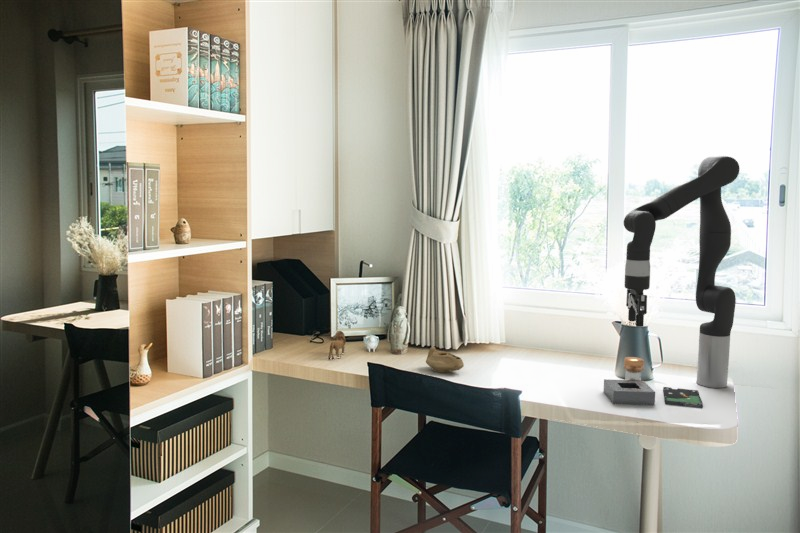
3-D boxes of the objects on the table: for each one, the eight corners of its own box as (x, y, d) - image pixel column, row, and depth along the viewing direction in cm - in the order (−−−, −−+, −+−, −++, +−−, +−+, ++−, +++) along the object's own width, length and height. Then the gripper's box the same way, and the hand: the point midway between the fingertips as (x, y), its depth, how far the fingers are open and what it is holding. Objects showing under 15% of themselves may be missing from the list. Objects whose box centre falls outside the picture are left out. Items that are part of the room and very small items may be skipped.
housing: (603, 394, 204) (604, 379, 203) (642, 395, 203) (643, 380, 202) (613, 407, 192) (613, 390, 191) (654, 408, 191) (655, 392, 190)
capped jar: (620, 386, 213) (622, 356, 212) (639, 386, 212) (640, 357, 211) (625, 391, 207) (627, 361, 206) (644, 392, 206) (646, 361, 205)
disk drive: (662, 395, 206) (664, 409, 192) (662, 386, 206) (665, 399, 192) (697, 398, 202) (703, 413, 189) (698, 389, 202) (703, 403, 188)
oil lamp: (458, 377, 222) (458, 355, 221) (419, 371, 229) (419, 349, 228) (470, 370, 231) (471, 348, 230) (433, 364, 238) (433, 343, 238)
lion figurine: (333, 351, 257) (333, 329, 256) (346, 352, 257) (346, 329, 256) (326, 361, 243) (326, 337, 242) (340, 361, 242) (340, 338, 241)
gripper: (656, 276, 198) (654, 328, 200) (642, 271, 212) (641, 319, 214) (631, 276, 199) (629, 328, 201) (619, 270, 213) (617, 319, 215)
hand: (635, 323), depth 207 cm, fingers open, 8 cm apart
